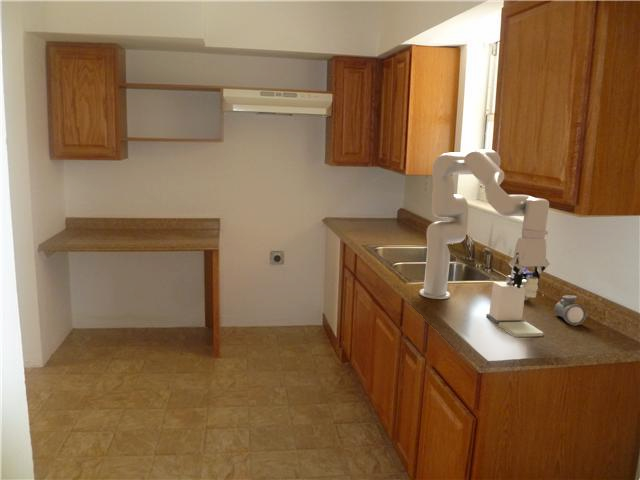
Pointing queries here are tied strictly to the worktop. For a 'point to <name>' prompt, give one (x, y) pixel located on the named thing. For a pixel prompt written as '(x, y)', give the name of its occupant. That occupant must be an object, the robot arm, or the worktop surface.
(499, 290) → the pump housing
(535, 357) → the worktop surface
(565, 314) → the pipe fitting
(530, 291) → the valve
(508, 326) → the pad
